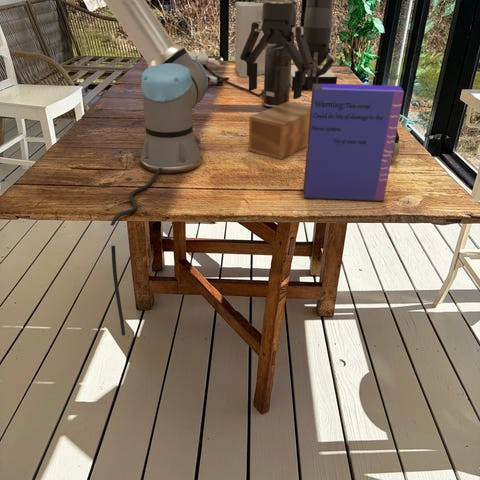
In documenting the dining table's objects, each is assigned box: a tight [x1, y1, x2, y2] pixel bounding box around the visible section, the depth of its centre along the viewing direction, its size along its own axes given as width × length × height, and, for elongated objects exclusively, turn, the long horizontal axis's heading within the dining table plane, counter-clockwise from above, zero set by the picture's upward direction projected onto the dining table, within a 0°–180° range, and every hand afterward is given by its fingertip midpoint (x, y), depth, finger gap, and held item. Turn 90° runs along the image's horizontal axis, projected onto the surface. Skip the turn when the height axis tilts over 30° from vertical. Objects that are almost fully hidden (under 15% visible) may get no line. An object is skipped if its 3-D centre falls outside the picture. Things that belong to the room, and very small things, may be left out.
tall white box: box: [234, 1, 266, 78], centre depth 210 cm, size 19×15×28 cm
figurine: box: [207, 74, 230, 86], centre depth 193 cm, size 24×8×30 cm
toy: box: [186, 50, 221, 68], centre depth 223 cm, size 24×25×7 cm
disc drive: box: [290, 65, 338, 91], centre depth 199 cm, size 18×22×5 cm
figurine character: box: [392, 131, 400, 157], centre depth 128 cm, size 7×8×15 cm
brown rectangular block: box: [248, 101, 311, 160], centre depth 133 cm, size 19×11×10 cm, turn 144°
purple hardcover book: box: [302, 83, 405, 202], centre depth 102 cm, size 17×5×24 cm, turn 86°
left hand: (274, 93), depth 123 cm, fingers open, 13 cm apart
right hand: (311, 89), depth 139 cm, fingers closed
